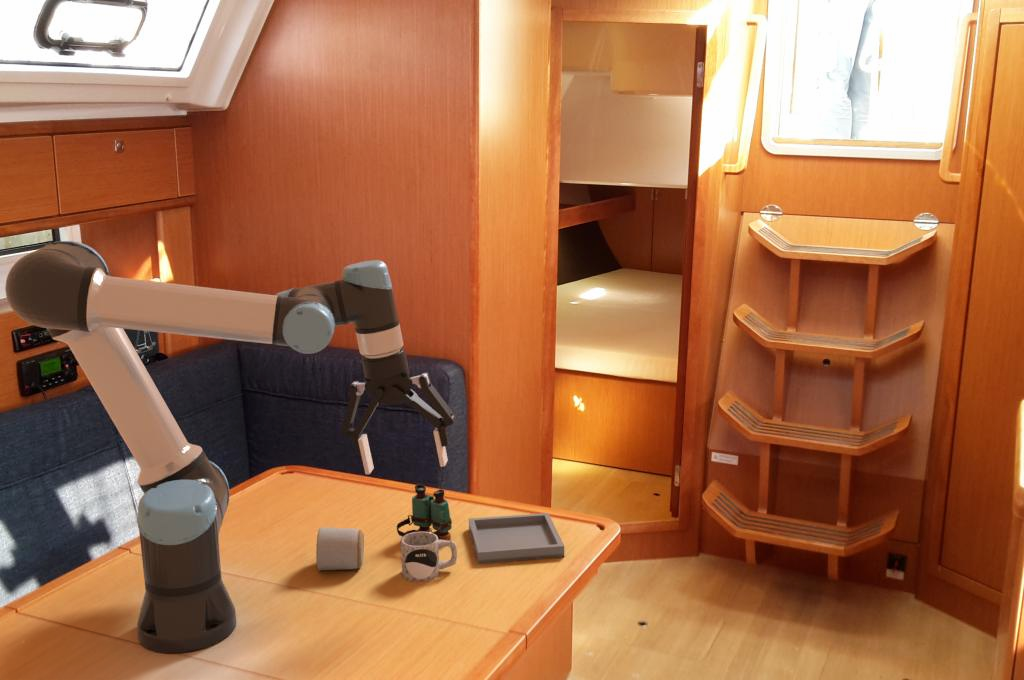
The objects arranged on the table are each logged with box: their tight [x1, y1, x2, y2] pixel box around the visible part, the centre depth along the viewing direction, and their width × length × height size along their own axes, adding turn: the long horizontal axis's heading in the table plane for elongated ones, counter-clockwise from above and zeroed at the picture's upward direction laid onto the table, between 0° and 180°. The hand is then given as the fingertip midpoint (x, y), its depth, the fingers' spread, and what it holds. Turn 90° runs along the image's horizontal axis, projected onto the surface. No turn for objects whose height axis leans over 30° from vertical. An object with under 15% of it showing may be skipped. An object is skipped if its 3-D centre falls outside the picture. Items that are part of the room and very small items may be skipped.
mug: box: [400, 532, 458, 583], centre depth 184 cm, size 10×7×7 cm
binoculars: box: [396, 483, 453, 541], centre depth 197 cm, size 9×11×10 cm
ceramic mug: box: [315, 526, 365, 571], centre depth 188 cm, size 11×8×8 cm
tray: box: [468, 512, 565, 565], centre depth 197 cm, size 16×16×2 cm
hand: (406, 467), depth 180 cm, fingers open, 13 cm apart
